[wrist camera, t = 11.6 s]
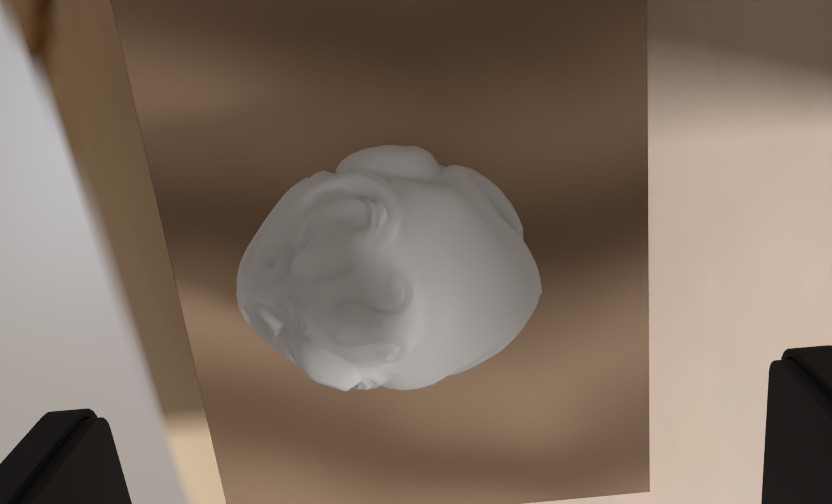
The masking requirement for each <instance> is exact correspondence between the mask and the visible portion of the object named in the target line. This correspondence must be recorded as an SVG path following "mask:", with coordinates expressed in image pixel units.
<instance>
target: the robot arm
mask: <svg viewBox="0 0 832 504" xmlns="http://www.w3.org/2000/svg"><path fill="white" fill-rule="evenodd" d="M0 504H132V503H131V500H130V496H129V493H128V489H127V486H126V482H125V479H124V475H123V472H122V468H121V464H120V461H119V457H118V454H117V450H116V446H115V443H114V440H113V436H112V432H111V429H110V426H109V424H108V422H107V420H106V419H104V418H97V416H96V414H95V413H94V412H93V411H92V410H90V409H77V410H66V411H54V412H48V413H46V414H45V415H44V416H43V417H42V418H41V419H40V420H39V421H38V422H37V423H36V424H35V426H34V427H33V428H32V429H31V430H30V431H29V433H28V434H27V435H26V436H25V437H24V438H23V439H22V440H21V441H20V442H19V444H18V445H17V446H16V447H15V448H14V449H13V450H12V452H11V453H10V454H9V455H8V456H7V457H6V458H5V459H4V460H3V461H2V463H1V464H0ZM762 504H832V346H816V347H804V348H793V349H787V350H786V351H785V352H784V353H783V356H782V359H781V360H776V361H773V362H772V363H771V365H770V369H769V382H768V399H767V417H766V434H765V452H764V469H763V487H762Z"/></svg>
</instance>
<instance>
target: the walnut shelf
mask: <svg viewBox="0 0 832 504" xmlns="http://www.w3.org/2000/svg"><path fill="white" fill-rule="evenodd" d="M111 4H112V8H113V12H114V17H115V21H116V25H117V30H118V34H119V38H120V43H121V47H122V51H123V56H124V60H125V65H126V69H127V73H128V78H129V82H130V86H131V91H132V95H133V99H134V104H135V108H136V112H137V117H138V121H139V125H140V130H141V134H142V138H143V143H144V147H145V152H146V156H147V160H148V165H149V169H150V173H151V178H152V182H153V186H154V191H155V195H156V199H157V204H158V208H159V212H160V217H161V221H162V226H163V230H164V234H165V239H166V243H167V247H168V252H169V256H170V260H171V265H172V269H173V273H174V278H175V282H176V286H177V291H178V295H179V299H180V304H181V308H182V313H183V317H184V321H185V326H186V330H187V334H188V339H189V343H190V347H191V352H192V356H193V360H194V365H195V369H196V373H197V378H198V382H199V387H200V391H201V395H202V400H203V404H204V408H205V413H206V417H207V421H208V426H209V430H210V434H211V439H212V443H213V447H214V452H215V456H216V460H217V465H218V469H219V474H220V478H221V482H222V487H223V491H224V495H225V500H226V504H523V503H533V502H544V501H555V500H566V499H576V498H587V497H598V496H608V495H619V494H630V493H641V492H650V482H649V293H648V104H647V0H111ZM384 145H399V146H403V147H404V146H417V147H420V148H422V149H424V150H427V151H428V152H430V153H431V154H432V155H433V157H434V158H435V160H436V161H437V163H438V164H439V165H442V166H445V167H448V166H449V165H459V166H464V167H467V168H471V169H473V170H475V171H477V172H478V173H480V174H481V175H483V176H484V177H486V178H487V179H489V180H490V181H491V182H493V183H494V184H495V185H496V186H497V187H498V188H499V189H500V190H501V191H502V192H503V193H504V195H505V196H506V197H507V199H508V200H509V201H510V202H511V204H512V206H513V208H514V210H515V212H516V213H517V215H518V217H519V220H520V222H521V225H522V227H523V241H524V242H525V244H526V246H527V247H528V249H529V251H530V252H531V254H532V256H533V258H534V260H535V262H536V265H537V268H538V271H539V275H540V281H541V288H542V293H541V295H540V296H539V300H538V304H537V306H536V308H535V310H534V312H533V313H532V315H531V316H530V318H529V320H528V321H527V323H526V324H525V326H524V327H523V329H522V330H521V331H520V332H519V334H518V335H517V336H516V337H515V338H514V339H513V340H512V341H511V342H510V343H509V344H508V345H507V346H506V347H505V348H504V349H503V350H501V351H500V352H499V353H497V354H496V355H494V356H492V357H490V358H489V359H487V360H485V361H484V362H482V363H480V364H478V365H476V366H474V367H472V368H470V369H468V370H466V371H463V372H460V373H458V374H454V375H449V376H446V377H445V378H444V379H442V380H440V381H438V382H436V383H435V384H433V385H428V386H426V387H422V388H418V389H410V390H397V389H389V388H386V387H384V386H381V385H380V386H379V387H376V388H373V389H368V390H361V389H358V390H357V389H354V388H351V389H350V390H348V391H342V390H338V389H335V388H332V387H329V386H326V385H323V384H320V383H317V382H315V381H314V380H312V379H311V378H309V377H308V376H306V375H304V373H303V372H302V371H301V370H300V368H299V367H298V366H297V365H295V364H294V363H292V362H291V361H290V360H289V359H287V358H286V356H285V355H284V354H282V353H280V352H278V351H276V350H275V349H274V348H272V347H271V346H269V345H268V344H267V343H266V342H264V341H263V340H262V339H261V338H260V337H258V336H257V335H256V334H255V333H254V331H253V330H252V329H251V328H250V327H249V325H248V324H247V323H246V321H245V320H244V318H243V316H242V314H241V312H240V311H239V307H238V302H237V296H236V293H237V275H238V270H239V265H240V262H241V260H242V258H243V255H244V253H245V251H246V249H247V247H248V245H249V244H250V242H251V241H252V239H253V238H254V236H255V235H256V233H257V231H258V230H259V228H260V227H261V225H262V224H263V222H264V221H265V219H266V218H267V217H268V215H269V214H270V212H271V211H272V210H273V208H274V207H275V206H276V204H277V203H278V202H279V201H280V199H281V198H282V197H283V195H284V194H285V193H286V192H287V191H288V190H289V189H290V188H291V187H292V186H294V185H295V184H297V183H298V182H300V181H301V180H303V179H304V178H306V177H309V178H310V177H311V176H313V175H314V174H315V173H318V172H320V171H323V170H324V171H327V172H330V173H334V174H335V172H336V169H337V167H338V165H339V164H340V162H341V161H342V160H343V159H345V158H346V157H348V156H349V155H351V154H353V153H355V152H358V151H361V150H363V149H366V148H371V147H378V146H384Z"/></svg>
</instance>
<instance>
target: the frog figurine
mask: <svg viewBox="0 0 832 504" xmlns="http://www.w3.org/2000/svg"><path fill="white" fill-rule="evenodd" d="M541 293H542V288H541V281H540V275H539V271H538V268H537V265H536V262H535V260H534V258H533V256H532V254H531V252H530V251H529V249H528V247H527V246H526V244H525V242H524V241H523V227H522V225H521V222H520V220H519V217H518V215H517V213H516V212H515V210H514V208H513V206H512V204H511V202H510V201H509V200H508V199H507V197H506V196H505V195H504V193H503V192H502V191H501V190H500V189H499V188H498V187H497V186H496V185H495V184H494V183H493V182H491V181H490V180H489V179H487V178H486V177H484V176H483V175H481V174H480V173H478V172H477V171H475V170H473V169H471V168H467V167H464V166H459V165H449V166H448V167H445V166H442V165H439V164H438V163H437V161H436V160H435V158H434V157H433V155H432V154H431V153H430V152H428V151H427V150H424V149H422V148H420V147H417V146H404V147H403V146H399V145H384V146H378V147H371V148H366V149H363V150H361V151H358V152H355V153H353V154H351V155H349V156H348V157H346V158H345V159H343V160H342V161H341V162H340V164H339V165H338V167H337V169H336V172H335V174H334V173H330V172H327V171H324V170H323V171H320V172H318V173H315V174H314V175H313V176H311V177H310V178H309V177H306V178H304V179H303V180H301V181H300V182H298V183H297V184H295V185H294V186H292V187H291V188H290V189H289V190H288V191H287V192H286V193H285V194H284V195H283V197H282V198H281V199H280V201H279V202H278V203H277V204H276V206H275V207H274V208H273V210H272V211H271V212H270V214H269V215H268V217H267V218H266V219H265V221H264V222H263V224H262V225H261V227H260V228H259V230H258V231H257V233H256V235H255V236H254V238H253V239H252V241H251V242H250V244H249V245H248V247H247V249H246V251H245V253H244V255H243V258H242V260H241V262H240V265H239V270H238V275H237V293H236V296H237V302H238V307H239V311H240V312H241V314H242V316H243V318H244V320H245V321H246V323H247V324H248V325H249V327H250V328H251V329H252V330H253V331H254V333H255V334H256V335H257V336H258V337H260V338H261V339H262V340H263V341H264V342H266V343H267V344H268V345H269V346H271V347H272V348H274V349H275V350H276V351H278V352H280V353H282V354H284V355H285V356H286V358H287V359H289V360H290V361H291V362H292V363H294V364H295V365H297V366H298V367H299V368H300V370H301V371H302V372H303V373H304V375H306V376H308V377H309V378H311V379H312V380H314V381H315V382H317V383H320V384H323V385H326V386H329V387H332V388H335V389H338V390H342V391H348V390H350V389H351V388H354V389H357V390H358V389H361V390H368V389H373V388H376V387H379V386H380V385H381V386H384V387H386V388H389V389H397V390H410V389H418V388H422V387H426V386H428V385H433V384H435V383H436V382H438V381H440V380H442V379H444V378H445V377H446V376H449V375H454V374H458V373H460V372H463V371H466V370H468V369H470V368H472V367H474V366H476V365H478V364H480V363H482V362H484V361H485V360H487V359H489V358H490V357H492V356H494V355H496V354H497V353H499V352H500V351H501V350H503V349H504V348H505V347H506V346H507V345H508V344H509V343H510V342H511V341H512V340H513V339H514V338H515V337H516V336H517V335H518V334H519V332H520V331H521V330H522V329H523V327H524V326H525V324H526V323H527V321H528V320H529V318H530V316H531V315H532V313H533V312H534V310H535V308H536V306H537V304H538V300H539V296H540V295H541Z"/></svg>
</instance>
